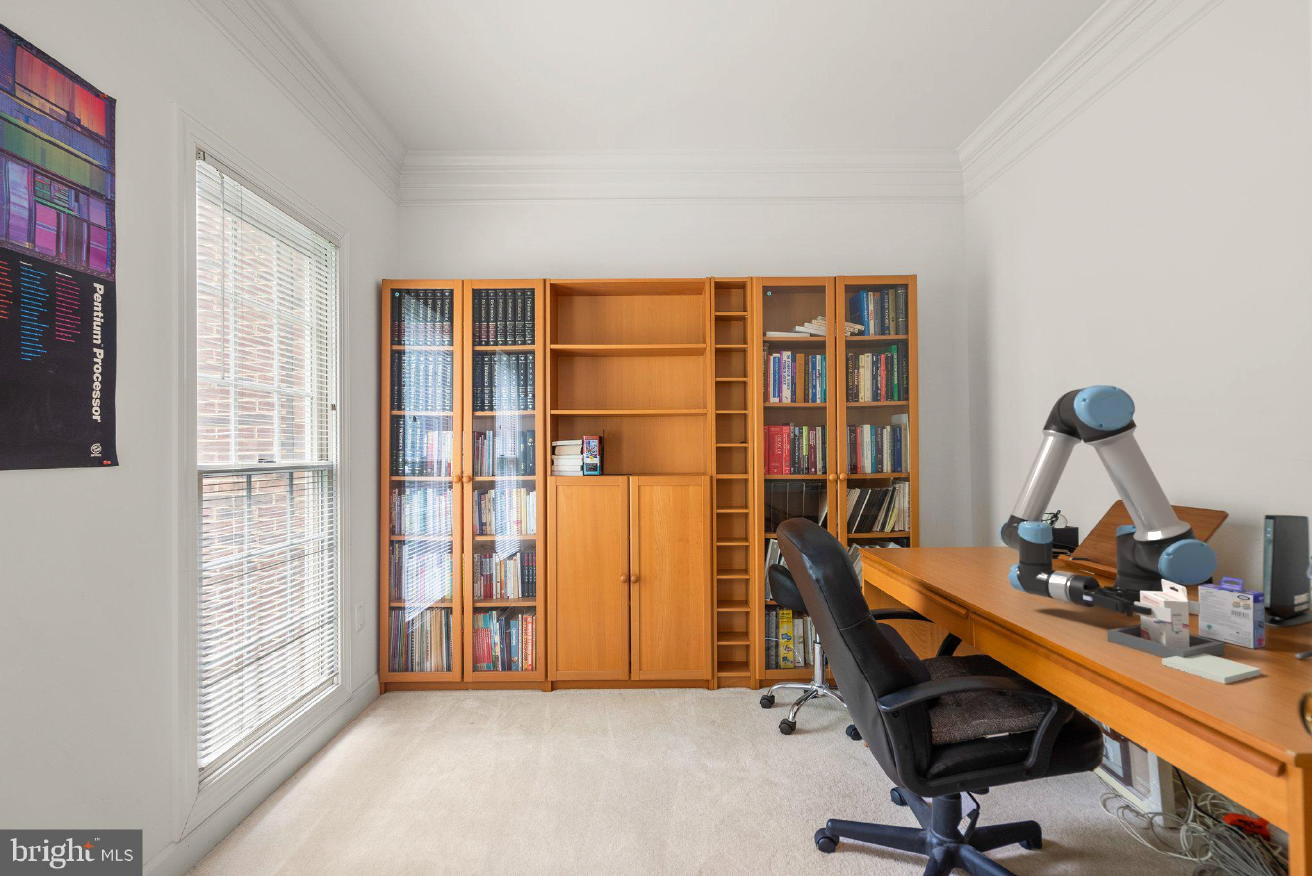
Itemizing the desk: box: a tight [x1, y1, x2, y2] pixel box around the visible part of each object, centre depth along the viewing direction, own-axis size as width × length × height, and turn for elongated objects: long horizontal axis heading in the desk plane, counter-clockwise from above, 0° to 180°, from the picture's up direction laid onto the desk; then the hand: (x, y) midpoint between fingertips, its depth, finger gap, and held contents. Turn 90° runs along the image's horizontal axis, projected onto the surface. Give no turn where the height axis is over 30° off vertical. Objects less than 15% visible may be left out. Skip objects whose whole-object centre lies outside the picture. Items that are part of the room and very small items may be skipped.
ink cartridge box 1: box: [1139, 579, 1190, 649], centre depth 125 cm, size 9×5×15 cm, turn 168°
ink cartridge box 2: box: [1197, 576, 1266, 649], centre depth 129 cm, size 10×6×14 cm, turn 23°
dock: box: [1106, 623, 1226, 659], centre depth 125 cm, size 14×14×2 cm
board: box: [1161, 653, 1262, 685], centre depth 113 cm, size 12×10×1 cm
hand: (1185, 612), depth 121 cm, fingers open, 11 cm apart
